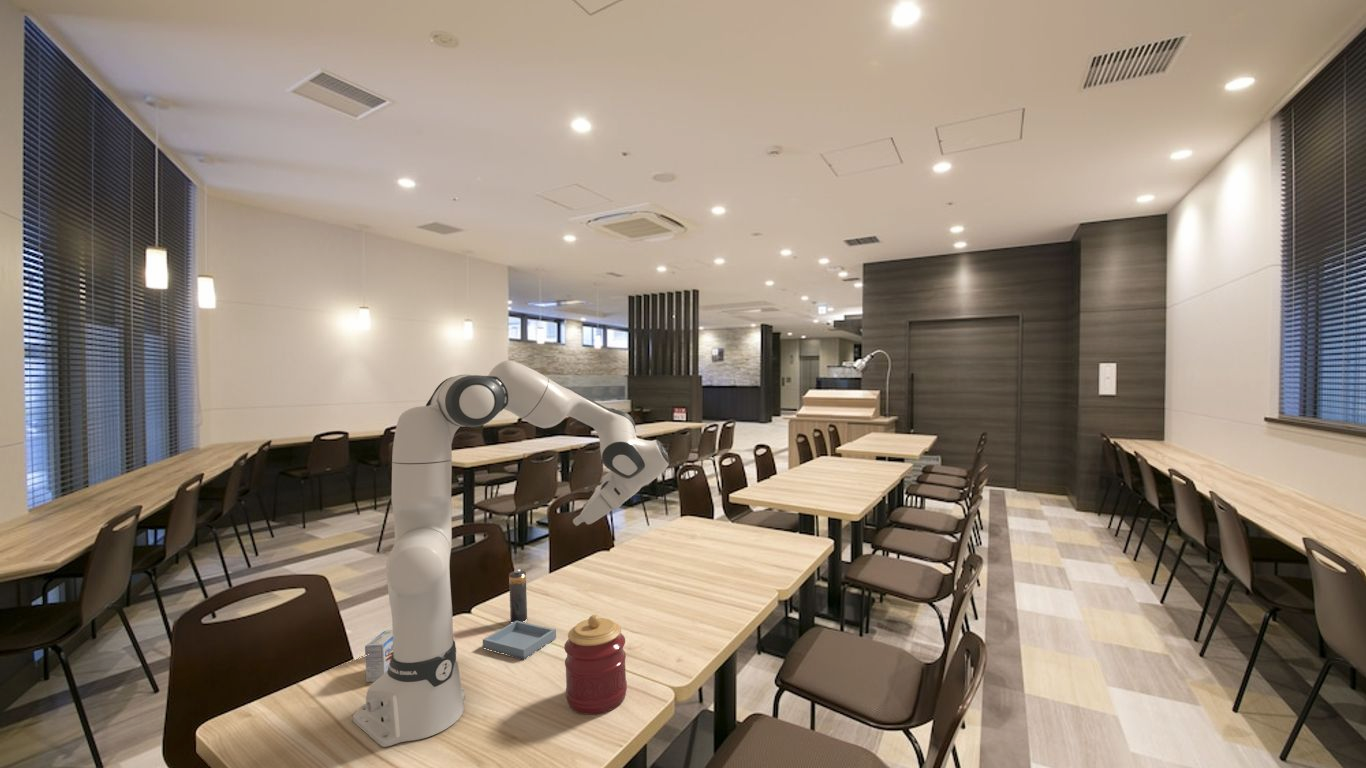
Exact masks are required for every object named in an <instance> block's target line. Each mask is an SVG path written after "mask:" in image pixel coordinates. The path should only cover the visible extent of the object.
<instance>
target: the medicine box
mask: <svg viewBox="0 0 1366 768" xmlns="http://www.w3.org/2000/svg"><path fill="white" fill-rule="evenodd" d="M392 652H393V629H390V630H384V631H383V632H381V633H380V634H379V635H378V636H376V637H375V638H374V639H372V641H370V642H368V643H367V644H366V645H364V658H365V660H364V661H365V682H366V683H373V682H375V681H376V680H377V679H378V678H379V677H380V676H382V675H383V674H384V673H385V672H386V671H387V670H388V667H389V663H390V660H391V659H389V660H387V661H385V660H386V659H387V658H388V657H389V656H391V655H389V656H387V657H385V656H386V655H388V654H390V653H392ZM368 654H369V655H368ZM365 655H367V656H365Z"/></svg>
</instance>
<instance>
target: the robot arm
mask: <svg viewBox="0 0 1366 768" xmlns="http://www.w3.org/2000/svg"><path fill="white" fill-rule="evenodd" d="M432 393H433V394H432V395H431V397H430V398H429V400H428V401H427V403H426V404H425V405H423V406H421V405H420V406H415V407H411V408H409V409H407V410H405V411H403V412H402V413H401V414H400V416H398V419H397V423H396V426H395V431H394V436H393V443H392V444H393V445H392V454H391V457H392V459H391V460H392V461H391V468H392V469H391V506H392V513H393V525H394V526H393V528H394V542H393V546H392V549H391V551H390V552H389V555H388V556H387V559H386V564H385V572H386V583H387V585H386V586H387V592H388V600H389V606H390V611H391V612H390V613H391V621H392V622H391V623H392V624H391V625H392V627H391V628H392V630H393V652H392V653H390V654H388V655H386V656H385V657H387V656H389V655H391V656H389V657H388V658H387V659H386V660H385V661H387V660H389V659H391V660H390V663H389V667H388V670H387V671H386V672H385V673H384V674H383V675H382V676H380V677H379V678H378V679H377V680H376V681H375V682H371V684H370V686H369V687H368V689H367V691H366V695H365V704H363V705H362V706H361V707H359V709H357V710H356V711H355V713H354V714H353V715H352V722H353V723H354V724H355V725H356V726H357V727H359V728H360V729H361V730H363V732H365V733H366V734H367V735H368V736H369V737H371V739H372V740H373V741H375V742H376V743H377V744H378V745H379V746H380V747H383V748H384V747H385V748H386V747H390V746H393V745H396V744H397V745H398V744H399V743H404V742H410V741H418V740H422V739H426V738H428V737H431V736H434V735H437V734H439V733H442V732H443V731H445V730H446V729H449V727H451V726H452V725H454V724H455V723H456V722H457V721H458V720H460V718H461V716H462V715H463V713H464V710H465V707H464V699H465V697H466V692H465V691H466V690H465V689H463V688H462V684H461V683H462V682H461V675H460V670H459V668H460V667H459V663H458V661H457V646H456V642H455V640H454V630H453V624H454V623H453V604H452V602H453V601H452V592H451V591H452V589H451V577H450V576H451V575H450V573H451V572H450V563H451V561H450V560H451V551H452V546H453V545H452V544H453V541H452V539H453V538H452V537H453V534H452V529H453V528H452V526H453V523H452V520H453V519H452V474H453V473H452V469H453V468H452V463H453V462H452V461H453V460H452V459H453V458H452V457H453V456H452V455H453V454H452V452H453V450H452V444H453V440H454V437H455V436H454V435H455V434H456V433H457V431H458V430H459V429H460V427H464V428H465V427H466V428H478V427H481V426H482V427H483V426H484V425H485V424H488V423H489V422H491V421H492V420H493V419H494V418H495V417H496V416H497V415H499V413H500V412H502V411H503V410H505V411H508V412H510V413H512V414H513V415H515V416H517V417H519V418H520V419H522V420H524V421H525V422H527V423H528V424H531V425H533V426H535V427H538V428H542V429H548V428H549V429H550V428H553V427H556V426H557V425H558V424H560V423H562V421H564V419H566V417H569V418H572V419H574V420H577V421H579V422H581V423H583V424H585V425H586V426H589V427H591V428H593V430H594V431H595V433H596V434H597V437H598V438H599V446H600V447H599V449H600V450H599V451H600V456H601V460H602V464H603V465H604V467H606V468H607V469H608V470H609V471H608V472H607V473H606V474H604V476H603V477H602V483H601V484H599V485H598V486H597V487H596V489H595V491H594V492H593V493H592V495H591V497H590V498H589V499H588V500H587V501H586V502H584V503H583V505H582V508H583V509H582V511H581V512H580V514H579V515H577V516H575V517H574V518H573V520H572V523H573V524H574V525H575V526H576V527H577V526H579V525H580V524H582V523H585V524H586V525H592V524H593V523H595V522H597V521H599V520H600V519H601V518H603V517H604V516H606V515H608V514H609V513H610V512H611V511H617V510H618V509H619V508H620V507H622V505H623V504H624V503H625V502H627V501H628V500H629V499H630V498H632V497H634V495H636V494H637V493H638V492H640V490H641V488H643V487H644V486H646V485H649V484H651V483H652V482H653V481H654V480H655V479H657V478H658V477H659V476H660V475H662V473H664V472H665V471H666V469H667V468H668V466H669V465H670V457H669V455H668V452H667V450H666V448H665V447H664V445H663V443H662V442H661V441H659V440H658V439H653V440H646V439H642V438H639V437H637V434H636V433H637V431H636V423H635V421H634V419H633V417H632V416H631V415H630V414H629V413H627V412H626V411H621V410H619V409H618V410H617V409H613V408H609V407H606V406H604V405H602V404H600V403H599V402H596V401H594V400H593V399H591V398H589V397H587V396H585V395H583V394H581V393H579V392H577V391H576V390H573V389H571V388H568V387H565V386H562V385H560V384H559V383H557V382H555V381H554V380H552V379H550V378H549V377H547V376H545V375H544V374H542V373H541V372H538V371H537V370H535V369H533V368H531V367H529V366H526V365H524V364H522V363H520V362H518V361H514V360H504V361H501V362H499V363H498V364H496V365H495V366H494V367H493V368H492V369H491V371H490V372H489V374H488V375H480V374H479V375H477V374H475V375H474V374H473V375H471V374H459V375H455V376H451V377H447V378H446V379H444V380H443V381H442V382H441V383H440V384H439V385H437V387H436V388H435V390H434V392H432Z"/></svg>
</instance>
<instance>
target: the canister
mask: <svg viewBox="0 0 1366 768" xmlns="http://www.w3.org/2000/svg"><path fill="white" fill-rule="evenodd" d="M621 628H622V627H621V626H620V624H619V623H617V622H614V621H613V620H611V619H609V618H604V617H600V616H599V615H597V614H592V615H591V616H589V618H588V619H585V620H582V621H580V622H578V623H577V624H576V625H575V626H573V627H572V628H571V629H570V630H569V631H568V634H567V637H568V639H567V640H566V642H565V643H564V645H563V646H564V647H563V649H564V651H565V653H566V657H565V660H564V666H565V678H566V679H565V683H566V684H565V685H566V688H565V699H566V701H567V705H568V707H569V708H570V709H571V710H572V711H574V712H576V713H579V714H583V715H598V714H599V715H600V714H603V713H607V712H609V711H612V710H613V709H616V708H617V707H619V706H620V705H621V704H622V703H623V701H625V698H626V694H627V691H628V690H627V689H628V686H627V685H628V683H627V679H626V656H627V654H626V652H625V650H624V646H625V645H626V637H625V636H624V634H623V633H622V629H621Z"/></svg>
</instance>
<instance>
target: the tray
mask: <svg viewBox="0 0 1366 768" xmlns="http://www.w3.org/2000/svg"><path fill="white" fill-rule="evenodd" d="M555 638H556V639H557V629H556V628H552V627H548V626H547V627H546V626H542V625H537V624H534V623H530V622H529V623H528V622H526V623H525V622H521V621H515V622H513V623H511V622H510V623H509V624H508V625H506V626H504V627H502V628H500V629H499V630H497V631H495V632H494V633H492V634H490V635H488V636H486V637H485V638H483V639H482V649H483V648H486V649H489V650H492V651H496V652H499V653H504V654H507V655H510V656H509V657H511V656H513V657H512V658H514V657H517V658H516V659H518V658H520V659H519V660H522V659H523V661H525V660H527V659H528V658H529V657H528V656H530V655H531V654H532V653H534V652H535V651H537V650H538V649H540V648H541V647H543V646H544V645H546V644H548V643H549V644H551V643H552V642H553V641H552V640H554V639H555ZM556 639H555V640H556ZM555 640H554V641H555ZM551 641H552V642H551ZM550 642H551V643H550ZM549 644H548V645H549ZM546 646H547V645H546ZM543 648H544V647H543ZM540 650H541V649H540ZM492 651H491V652H492ZM537 652H538V651H537ZM499 653H498V654H499ZM534 654H535V653H534ZM507 655H506V656H507ZM531 656H532V655H531ZM531 656H530V657H531ZM527 657H528V658H527ZM526 658H527V659H526ZM524 659H525V660H524Z"/></svg>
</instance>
